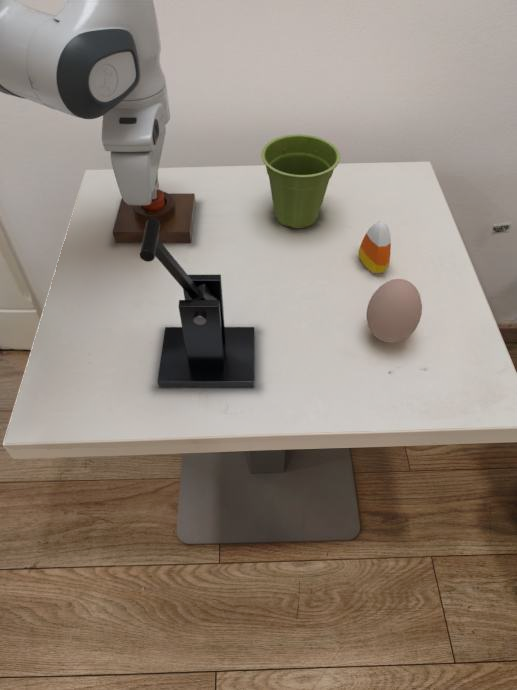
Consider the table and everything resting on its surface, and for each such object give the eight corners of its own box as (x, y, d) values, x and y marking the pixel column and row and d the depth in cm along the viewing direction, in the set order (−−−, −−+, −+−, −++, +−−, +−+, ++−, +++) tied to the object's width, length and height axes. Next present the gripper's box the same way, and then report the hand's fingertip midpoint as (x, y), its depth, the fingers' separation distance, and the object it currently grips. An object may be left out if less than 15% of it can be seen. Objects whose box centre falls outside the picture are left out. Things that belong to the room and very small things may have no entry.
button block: (115, 243, 82) (109, 222, 79) (125, 204, 88) (120, 184, 85) (191, 243, 82) (188, 222, 79) (195, 204, 88) (193, 184, 85)
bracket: (158, 387, 65) (140, 320, 55) (166, 332, 70) (151, 262, 60) (254, 387, 65) (253, 320, 55) (254, 332, 70) (254, 262, 60)
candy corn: (391, 273, 78) (403, 231, 71) (374, 279, 77) (385, 237, 71) (369, 249, 81) (379, 207, 75) (353, 255, 80) (361, 213, 74)
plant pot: (346, 215, 86) (356, 153, 78) (298, 248, 81) (304, 186, 72) (293, 185, 92) (297, 125, 83) (246, 215, 86) (244, 153, 77)
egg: (421, 347, 69) (441, 296, 61) (375, 360, 67) (390, 310, 60) (397, 311, 73) (413, 259, 65) (353, 322, 72) (364, 271, 64)
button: (140, 211, 81) (138, 202, 80) (143, 197, 83) (141, 188, 82) (163, 211, 81) (162, 202, 80) (166, 197, 83) (164, 188, 82)
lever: (132, 255, 50) (152, 247, 49) (139, 222, 53) (158, 214, 53) (197, 327, 59) (215, 321, 58) (200, 296, 62) (217, 289, 61)
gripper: (124, 71, 76) (141, 156, 87) (98, 147, 63) (121, 235, 74) (167, 71, 76) (179, 156, 87) (150, 147, 63) (165, 235, 74)
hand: (152, 193), depth 80 cm, fingers closed
